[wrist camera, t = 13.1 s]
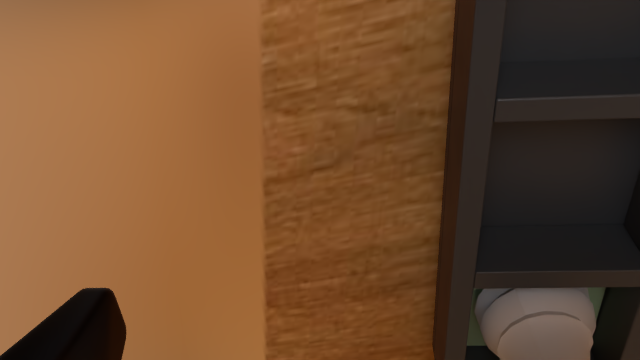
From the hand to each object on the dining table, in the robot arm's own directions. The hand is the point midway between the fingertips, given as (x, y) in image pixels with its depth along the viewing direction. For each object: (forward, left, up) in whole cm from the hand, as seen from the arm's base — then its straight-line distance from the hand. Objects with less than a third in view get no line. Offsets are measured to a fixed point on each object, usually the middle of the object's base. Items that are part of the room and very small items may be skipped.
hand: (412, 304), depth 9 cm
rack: (+6, -5, -12) cm, 14 cm away
